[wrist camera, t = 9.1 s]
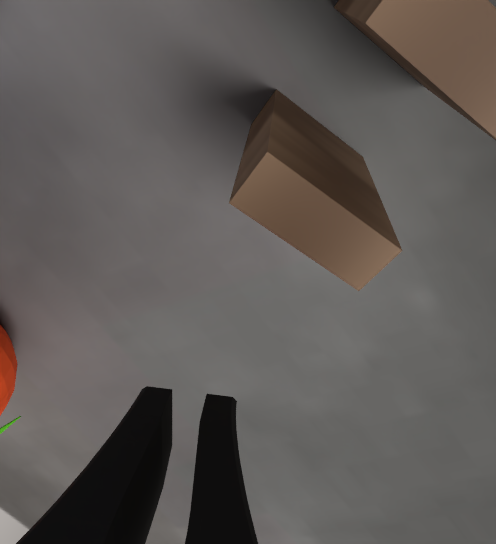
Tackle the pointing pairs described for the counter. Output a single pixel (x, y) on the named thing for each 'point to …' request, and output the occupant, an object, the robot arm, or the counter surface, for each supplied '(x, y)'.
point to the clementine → (6, 372)
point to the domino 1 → (314, 193)
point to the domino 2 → (438, 48)
